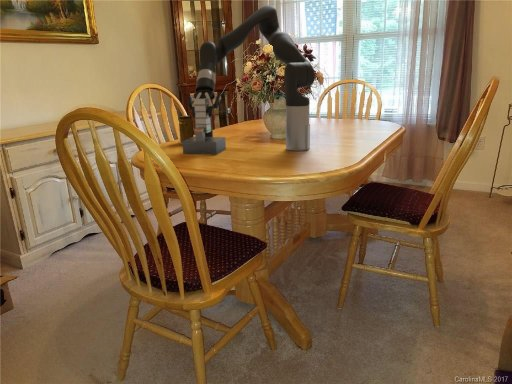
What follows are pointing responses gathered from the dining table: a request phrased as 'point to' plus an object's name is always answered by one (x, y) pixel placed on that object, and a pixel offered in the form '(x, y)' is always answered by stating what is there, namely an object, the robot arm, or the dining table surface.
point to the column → (202, 114)
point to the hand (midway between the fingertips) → (201, 115)
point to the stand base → (203, 144)
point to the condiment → (185, 128)
